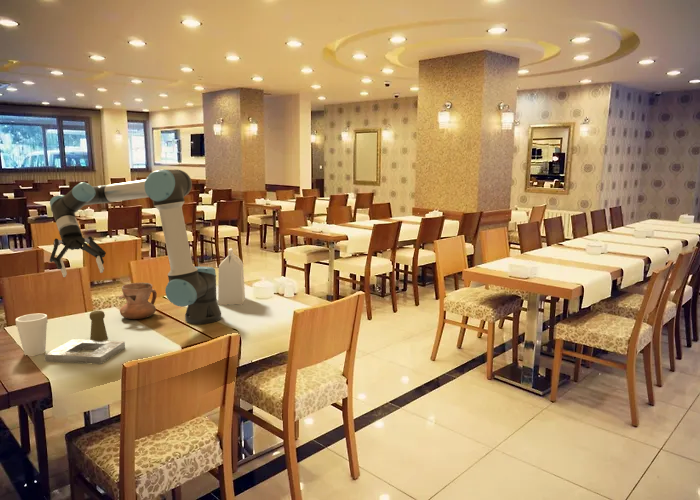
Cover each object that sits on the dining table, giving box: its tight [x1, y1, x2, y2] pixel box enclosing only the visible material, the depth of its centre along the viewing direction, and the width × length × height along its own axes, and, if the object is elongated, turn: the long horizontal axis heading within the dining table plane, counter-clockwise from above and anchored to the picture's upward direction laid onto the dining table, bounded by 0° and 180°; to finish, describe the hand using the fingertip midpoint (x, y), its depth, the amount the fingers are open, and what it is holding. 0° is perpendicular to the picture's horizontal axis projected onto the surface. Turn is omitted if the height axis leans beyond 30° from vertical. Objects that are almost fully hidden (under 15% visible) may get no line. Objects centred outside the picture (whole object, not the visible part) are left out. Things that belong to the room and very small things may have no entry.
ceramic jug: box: [118, 282, 157, 320], centre depth 219 cm, size 18×14×14 cm
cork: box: [89, 310, 109, 341], centre depth 191 cm, size 6×6×11 cm
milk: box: [217, 247, 246, 306], centre depth 244 cm, size 12×12×26 cm
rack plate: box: [44, 338, 126, 365], centre depth 176 cm, size 20×15×2 cm
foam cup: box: [15, 312, 48, 357], centre depth 176 cm, size 10×9×13 cm
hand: (84, 273), depth 195 cm, fingers open, 13 cm apart
